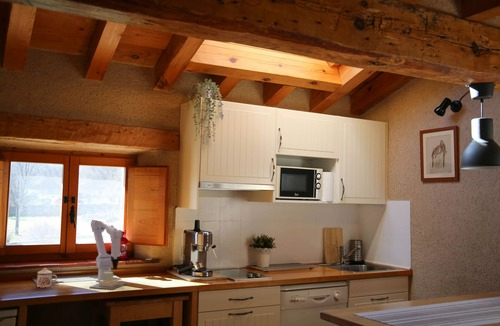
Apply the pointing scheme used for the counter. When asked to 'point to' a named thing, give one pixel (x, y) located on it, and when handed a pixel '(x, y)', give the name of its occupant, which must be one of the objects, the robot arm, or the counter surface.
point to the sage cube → (108, 276)
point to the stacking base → (108, 285)
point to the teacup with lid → (45, 278)
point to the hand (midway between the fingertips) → (115, 268)
